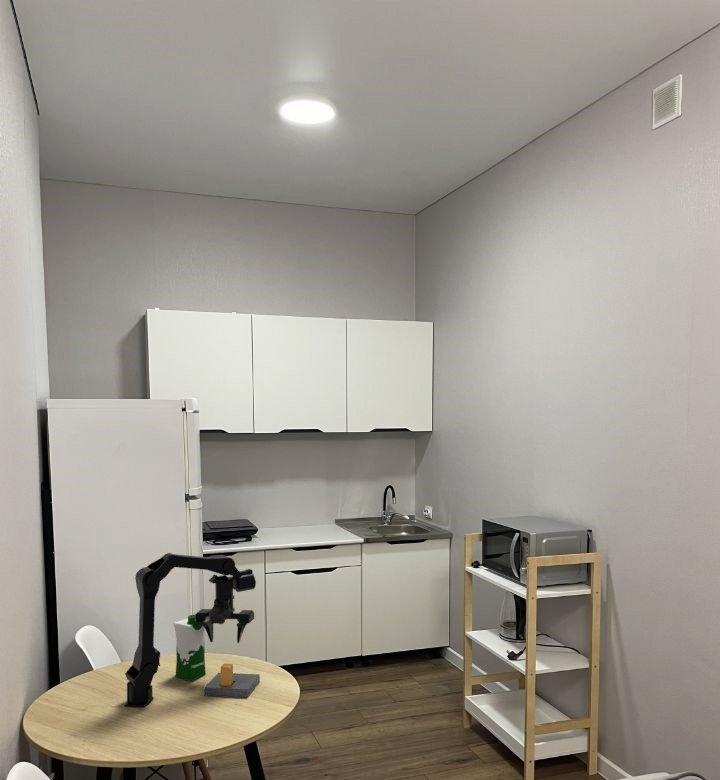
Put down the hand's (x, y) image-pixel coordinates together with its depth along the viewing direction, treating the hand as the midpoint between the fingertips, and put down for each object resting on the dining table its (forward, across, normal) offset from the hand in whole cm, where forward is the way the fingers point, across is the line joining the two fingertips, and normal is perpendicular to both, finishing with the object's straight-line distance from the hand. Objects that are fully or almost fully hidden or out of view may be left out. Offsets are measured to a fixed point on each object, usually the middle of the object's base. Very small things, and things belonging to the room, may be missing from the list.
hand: (225, 642), depth 220 cm
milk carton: (+12, -13, +2) cm, 18 cm away
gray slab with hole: (+12, +5, -7) cm, 15 cm away
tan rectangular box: (+12, +4, -9) cm, 15 cm away
